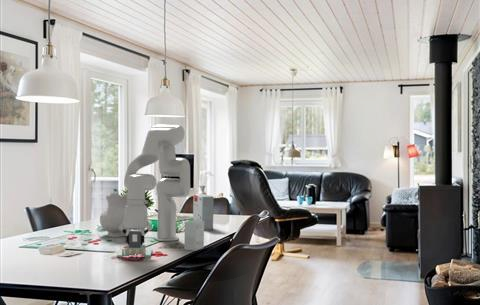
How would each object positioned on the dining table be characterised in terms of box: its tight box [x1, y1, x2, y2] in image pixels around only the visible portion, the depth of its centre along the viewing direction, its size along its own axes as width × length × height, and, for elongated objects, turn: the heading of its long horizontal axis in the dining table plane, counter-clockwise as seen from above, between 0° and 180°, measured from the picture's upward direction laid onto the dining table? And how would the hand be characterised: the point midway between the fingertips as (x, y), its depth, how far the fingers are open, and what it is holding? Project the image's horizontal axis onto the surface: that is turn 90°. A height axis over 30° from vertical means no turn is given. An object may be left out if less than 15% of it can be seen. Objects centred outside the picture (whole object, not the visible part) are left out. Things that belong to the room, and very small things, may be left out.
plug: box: [129, 230, 142, 248], centre depth 225 cm, size 5×5×7 cm
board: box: [116, 244, 153, 259], centre depth 225 cm, size 14×14×4 cm
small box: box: [184, 219, 205, 252], centre depth 242 cm, size 8×6×13 cm
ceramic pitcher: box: [99, 188, 132, 238], centre depth 277 cm, size 22×20×25 cm
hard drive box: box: [192, 193, 214, 231], centre depth 308 cm, size 16×8×20 cm, turn 25°
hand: (135, 243), depth 225 cm, fingers closed on plug, 5 cm apart
